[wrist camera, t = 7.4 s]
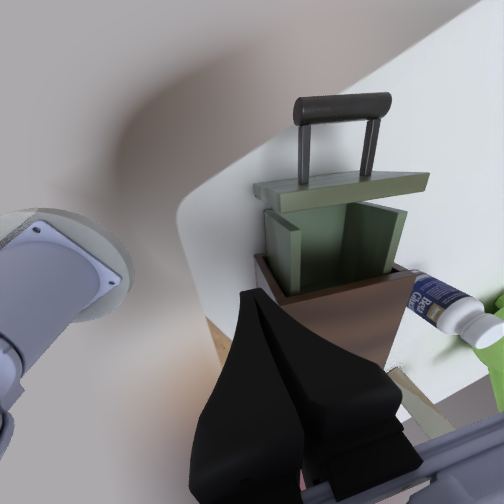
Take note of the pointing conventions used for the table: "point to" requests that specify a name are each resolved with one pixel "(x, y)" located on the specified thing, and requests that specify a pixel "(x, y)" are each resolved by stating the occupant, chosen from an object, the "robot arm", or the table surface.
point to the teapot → (495, 360)
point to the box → (421, 407)
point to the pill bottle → (454, 311)
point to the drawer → (335, 205)
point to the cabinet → (348, 309)
